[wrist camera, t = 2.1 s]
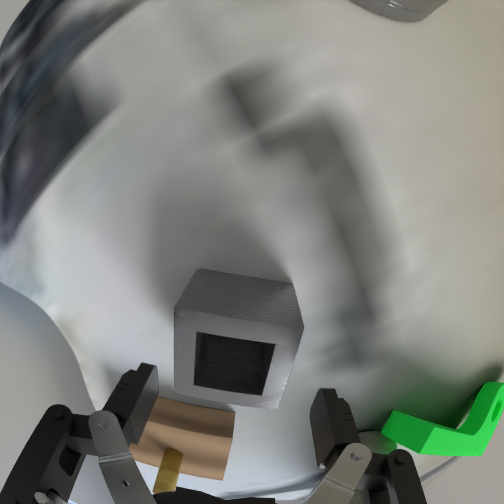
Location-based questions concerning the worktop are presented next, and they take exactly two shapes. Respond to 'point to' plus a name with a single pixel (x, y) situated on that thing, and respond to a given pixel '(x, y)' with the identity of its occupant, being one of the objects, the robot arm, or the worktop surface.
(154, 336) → the worktop surface
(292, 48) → the worktop surface
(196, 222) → the worktop surface
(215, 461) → the keeper
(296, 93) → the worktop surface
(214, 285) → the link
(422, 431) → the bracket
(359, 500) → the stone
